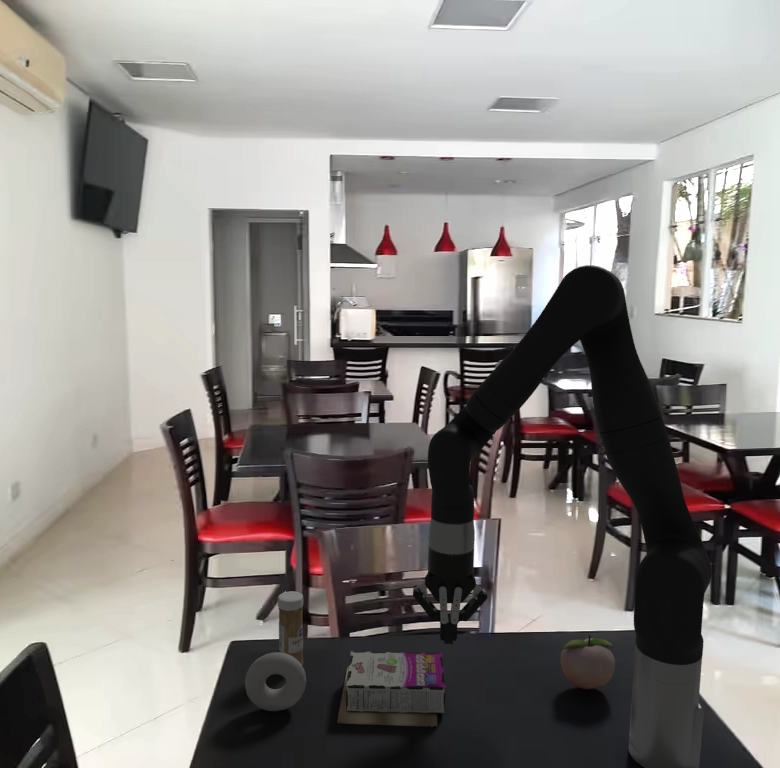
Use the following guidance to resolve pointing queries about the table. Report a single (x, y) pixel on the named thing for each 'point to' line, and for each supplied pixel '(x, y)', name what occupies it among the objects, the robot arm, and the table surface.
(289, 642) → the sprinkles bottle
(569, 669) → the decorative fruit
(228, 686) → the table surface
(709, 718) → the table surface
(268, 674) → the donut
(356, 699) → the candy bar box
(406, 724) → the oak mat
